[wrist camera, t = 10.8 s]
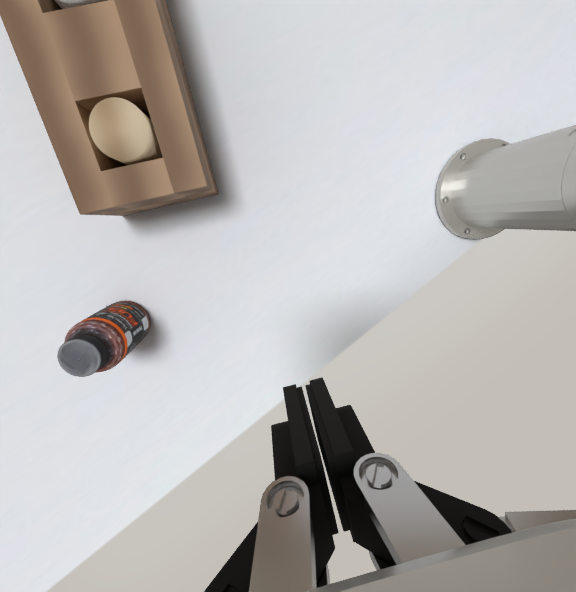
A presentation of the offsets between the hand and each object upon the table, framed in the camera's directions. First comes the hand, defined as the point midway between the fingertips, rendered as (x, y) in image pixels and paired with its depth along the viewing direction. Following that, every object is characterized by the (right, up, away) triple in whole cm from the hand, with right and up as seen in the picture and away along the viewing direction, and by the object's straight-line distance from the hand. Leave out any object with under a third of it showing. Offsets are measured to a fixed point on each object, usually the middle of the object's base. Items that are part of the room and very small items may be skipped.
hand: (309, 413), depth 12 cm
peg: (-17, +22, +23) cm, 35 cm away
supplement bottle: (-22, +1, +28) cm, 35 cm away
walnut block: (-18, +27, +21) cm, 39 cm away
